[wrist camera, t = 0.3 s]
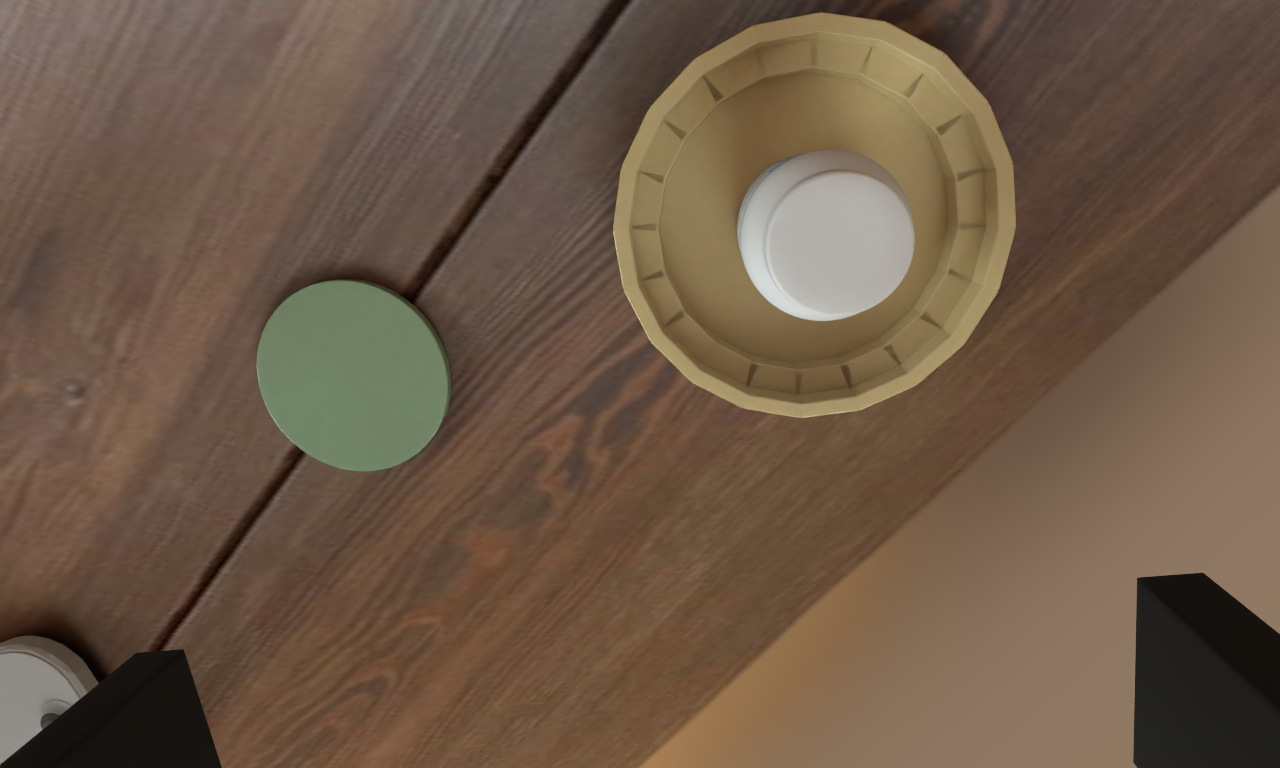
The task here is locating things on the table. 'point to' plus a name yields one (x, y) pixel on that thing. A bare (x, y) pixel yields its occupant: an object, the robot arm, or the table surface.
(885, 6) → the table surface
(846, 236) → the pill bottle
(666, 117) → the beige shallow round dish
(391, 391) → the coaster
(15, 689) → the handheld gaming console
